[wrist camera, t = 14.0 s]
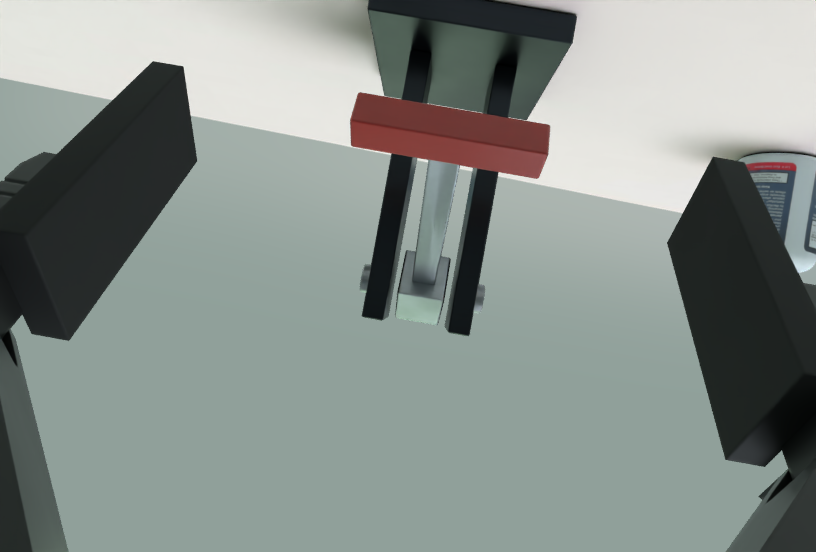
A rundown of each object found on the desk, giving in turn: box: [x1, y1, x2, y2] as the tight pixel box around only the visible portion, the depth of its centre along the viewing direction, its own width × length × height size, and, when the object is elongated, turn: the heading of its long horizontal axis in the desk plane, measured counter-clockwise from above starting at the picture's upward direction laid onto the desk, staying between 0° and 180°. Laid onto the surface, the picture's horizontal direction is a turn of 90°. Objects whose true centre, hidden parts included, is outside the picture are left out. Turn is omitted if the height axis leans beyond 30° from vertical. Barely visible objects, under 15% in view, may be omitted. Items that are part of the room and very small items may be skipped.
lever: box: [350, 92, 550, 325], centre depth 26 cm, size 13×6×2 cm, turn 2°
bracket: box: [360, 0, 577, 336], centre depth 30 cm, size 11×8×14 cm
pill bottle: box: [738, 153, 816, 273], centre depth 39 cm, size 5×5×9 cm
